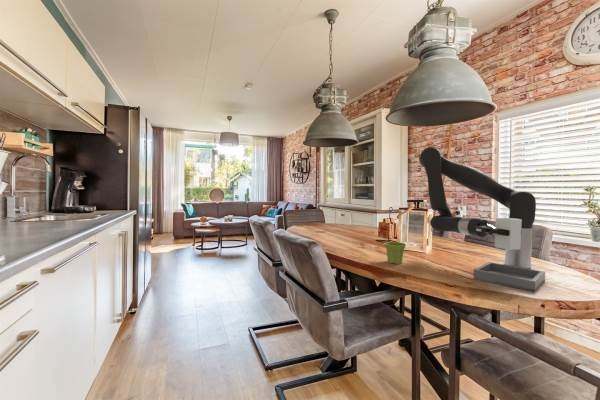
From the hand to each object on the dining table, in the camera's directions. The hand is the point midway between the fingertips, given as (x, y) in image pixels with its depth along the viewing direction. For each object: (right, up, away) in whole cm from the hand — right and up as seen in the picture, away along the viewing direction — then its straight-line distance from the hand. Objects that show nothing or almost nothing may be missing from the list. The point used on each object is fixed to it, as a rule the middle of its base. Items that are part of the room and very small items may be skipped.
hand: (514, 232), depth 103 cm
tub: (-1, -6, +3) cm, 7 cm away
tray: (0, -18, +2) cm, 18 cm away
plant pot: (-35, -17, +27) cm, 47 cm away
